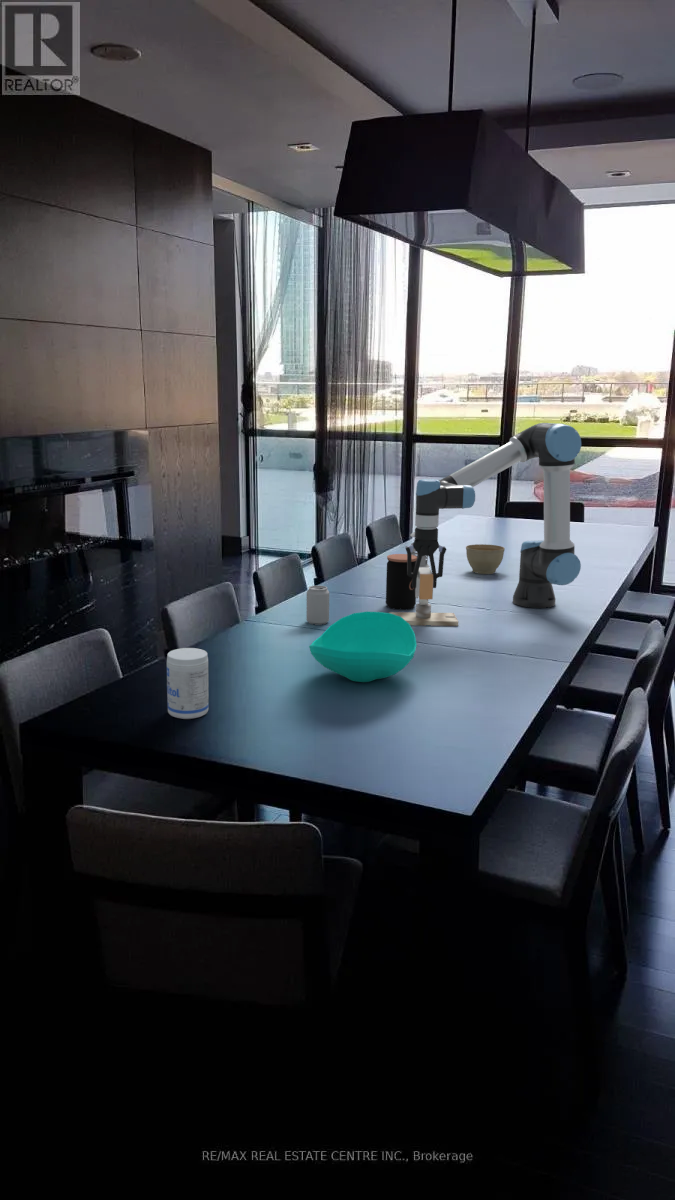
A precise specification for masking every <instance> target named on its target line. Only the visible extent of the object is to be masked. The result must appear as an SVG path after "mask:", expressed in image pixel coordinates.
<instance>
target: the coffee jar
mask: <svg viewBox="0 0 675 1200" xmlns="http://www.w3.org/2000/svg"><path fill="white" fill-rule="evenodd" d="M386 559H387V562H386V579H385V582H386V583H385V584H386V585H385V605H386V606H387V608H389V609H392V610H399V611H403V610H404V611H405V610H406V609H407V610H411V608H412V609H414V607H416V604H417V603H416V602H417V598H416V597H415V589H416V588H413V586H412V581H413V578H412V577H409V576H408V574H407V553H393V554H389V555H387V556H386ZM416 559H417V555H416V556H414V555H411V573H413V571H414V567H415V563H416Z"/></svg>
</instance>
